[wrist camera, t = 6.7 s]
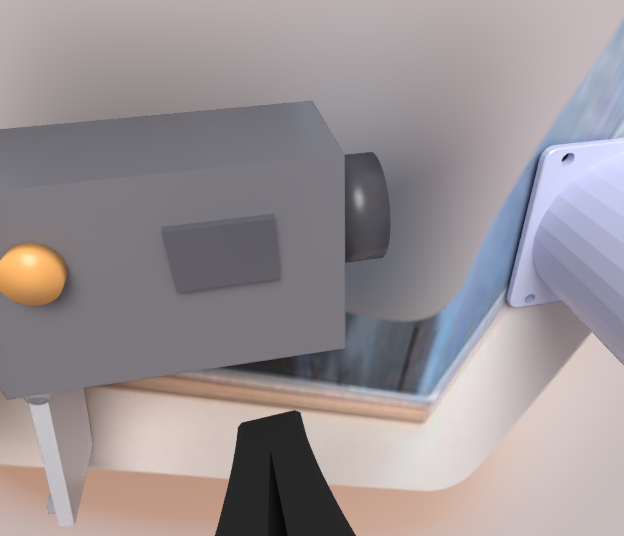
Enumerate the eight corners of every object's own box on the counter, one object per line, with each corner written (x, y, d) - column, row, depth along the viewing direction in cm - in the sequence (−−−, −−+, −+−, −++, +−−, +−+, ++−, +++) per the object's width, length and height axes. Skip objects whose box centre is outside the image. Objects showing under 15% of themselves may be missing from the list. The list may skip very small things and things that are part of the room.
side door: (95, 445, 24) (77, 525, 21) (68, 446, 24) (46, 527, 21) (75, 313, 20) (48, 388, 16) (42, 312, 19) (8, 389, 16)
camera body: (360, 96, 17) (414, 156, 12) (357, 261, 21) (398, 352, 16) (-27, 132, 16) (-126, 213, 11) (49, 302, 20) (0, 414, 15)
